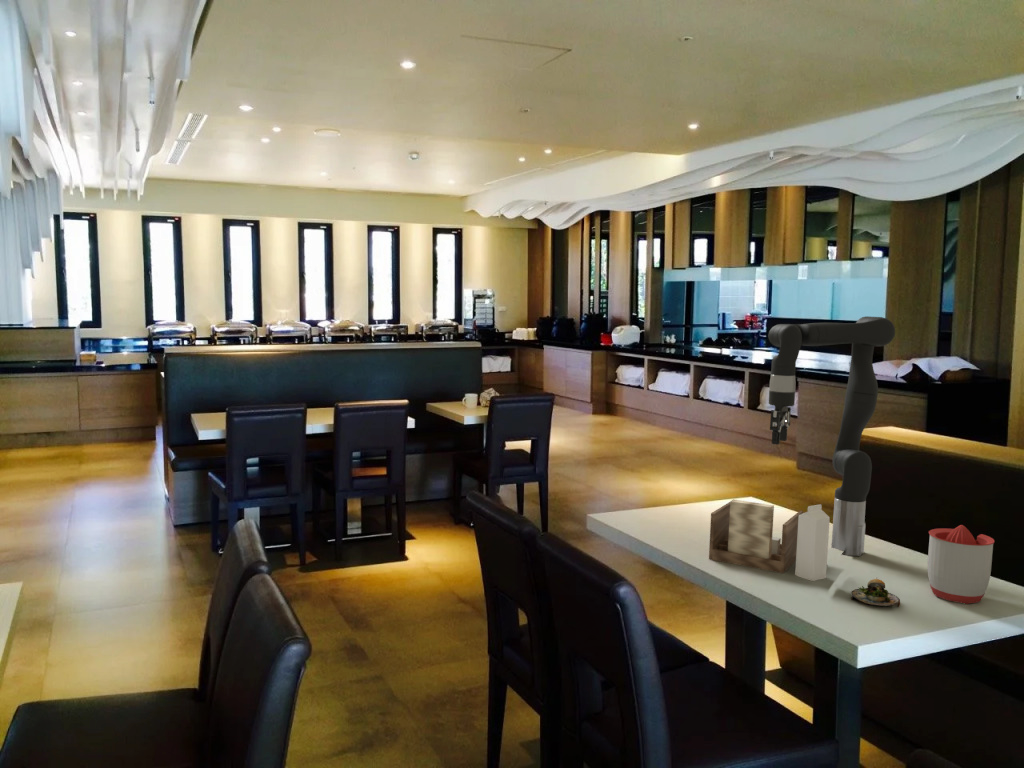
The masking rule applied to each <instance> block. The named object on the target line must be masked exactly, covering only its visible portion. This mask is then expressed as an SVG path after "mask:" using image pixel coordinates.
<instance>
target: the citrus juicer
mask: <svg viewBox="0 0 1024 768" xmlns="http://www.w3.org/2000/svg"><path fill="white" fill-rule="evenodd" d="M928 534H929V542H928V554H927V576H928V580H929V581H928V582H929V586H930V589H931V591H932V593H933V595H935V597H936V598H937V597H938V598H940V599H944V600H946V601H949V602H950V601H951V602H956V603H961V604H963V603H965V604H964V605H970V604H977V603H979V602H981V601H982V599H983V598H984V596H985V594H986V591H987V589H988V587H989V583H990V579H991V572H992V562H993V551H994V544H995V539H994V538H993V537H991V536H988V535H986V534H982V533H980V534H978V535H977V536H976V538H975V537H974V536H973V533H972V532H970V530H969V529H968V528H967V527H966V526H965V525H963V524H960V525H958V526H956V527H955V528H941V527H940V528H934V529H933V528H932V529H930V530H928Z"/></svg>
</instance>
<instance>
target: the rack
mask: <svg viewBox="0 0 1024 768" xmlns="http://www.w3.org/2000/svg"><path fill="white" fill-rule="evenodd" d="M803 513H804V511H802V510H799V511H798V512H797V513H795V514H794V515H793V516H791V517H790V518H789V519H788V520H786V521H785V522H784V523H783V524H782V528H781V529H782V531H781V534H782V535H781V543H780V555H777V554H771V559H765V558H760V557H755V556H749V555H744V554H739V553H733V552H728V538H729V519H730V501H729V502H727V503H725V504H724V505H722V506H720V507H718V508H717V509H716V510H714V511H712V512H711V513H710V528H709V548H708V551H709V552H708V560H713V561H718V562H723V563H729V564H733V565H739V566H744V567H748V568H753V569H759V570H763V571H769V572H775V573H778V574H779V573H780V574H785V573H786V572H787V570H789V568H790V567H791V566H792V565H793V564H794V563H796V552H797V535H798V518H799V515H801V514H803Z"/></svg>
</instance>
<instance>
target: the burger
mask: <svg viewBox="0 0 1024 768" xmlns="http://www.w3.org/2000/svg"><path fill="white" fill-rule="evenodd" d="M866 586H867V587H864V586H863V585H861V587H857V588H855V589H854V590H851V597H850V599H851V601H852V600H853V599H856V600H858V601H860V602H862V603H865V604H869V605H872V606H880V607H882V606H883V607H887V606H894V605H897V607H898V608H900V605H901V600H900V598H899V597H898V596H897V595H895V594H893V593H891V592H889V590H888V589H886V583H885V582H884V581H883V580H882V579H879V578H873V579H871V580H869V581H868V582H867V585H866Z"/></svg>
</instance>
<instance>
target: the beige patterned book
mask: <svg viewBox="0 0 1024 768" xmlns="http://www.w3.org/2000/svg"><path fill="white" fill-rule="evenodd" d="M729 502H730V519H729V538H728V552H733V553H739V554H744V555H749V556H755V557H760V558H765V559H771V550H772V537H773V531H774V529H773V528H774V514H775V513H774V512H775V505H773V504H767V503H759V502H755V501H754V502H753V501H747V500H746V501H745V500H740V499H731V500H730V501H729Z"/></svg>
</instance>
